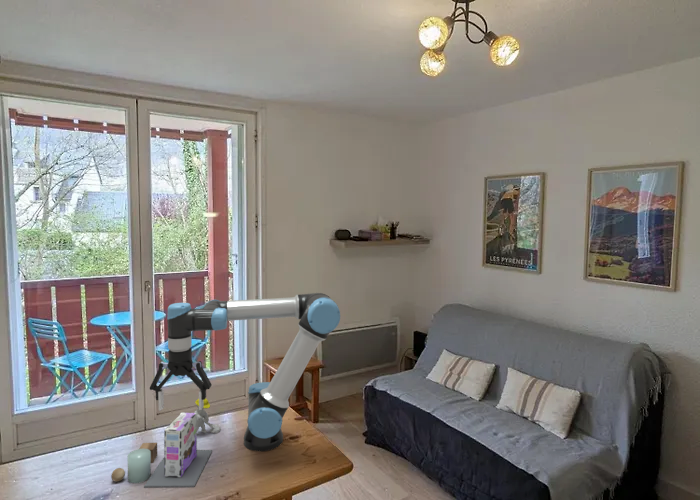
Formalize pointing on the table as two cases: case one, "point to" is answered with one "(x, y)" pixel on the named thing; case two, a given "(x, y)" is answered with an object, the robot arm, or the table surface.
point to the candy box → (180, 445)
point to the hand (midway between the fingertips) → (181, 408)
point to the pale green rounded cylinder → (139, 465)
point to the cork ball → (118, 474)
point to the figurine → (201, 420)
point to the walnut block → (151, 447)
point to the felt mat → (186, 479)
